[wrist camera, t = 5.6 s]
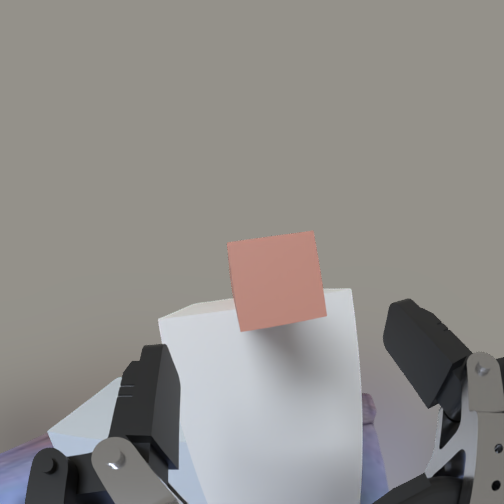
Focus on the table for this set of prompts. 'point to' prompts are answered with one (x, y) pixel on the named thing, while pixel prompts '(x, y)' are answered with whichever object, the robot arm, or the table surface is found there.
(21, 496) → the table surface
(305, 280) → the rod
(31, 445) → the table surface
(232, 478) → the riser
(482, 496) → the robot arm
